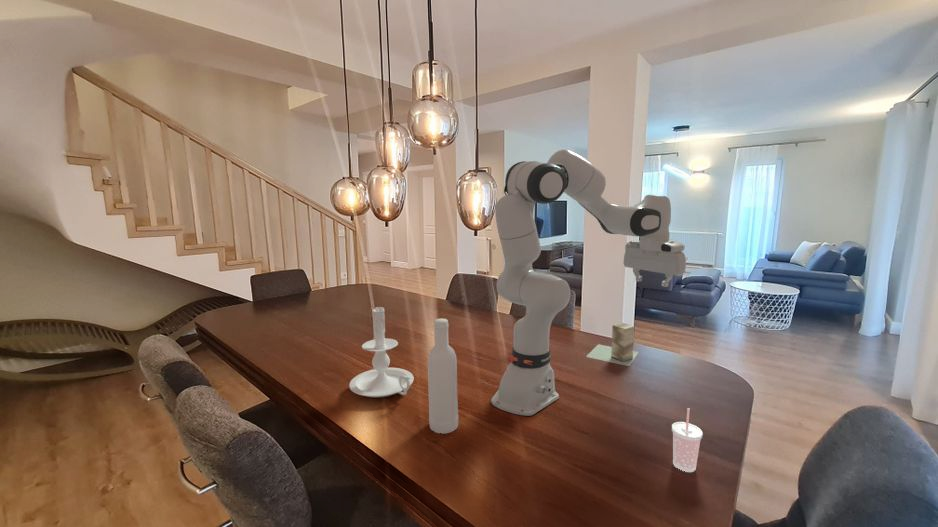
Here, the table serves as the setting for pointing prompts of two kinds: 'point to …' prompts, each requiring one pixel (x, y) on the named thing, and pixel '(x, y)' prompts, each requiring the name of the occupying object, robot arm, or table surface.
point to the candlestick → (381, 365)
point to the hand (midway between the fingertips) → (651, 283)
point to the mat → (607, 355)
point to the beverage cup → (686, 445)
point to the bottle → (442, 382)
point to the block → (622, 342)
